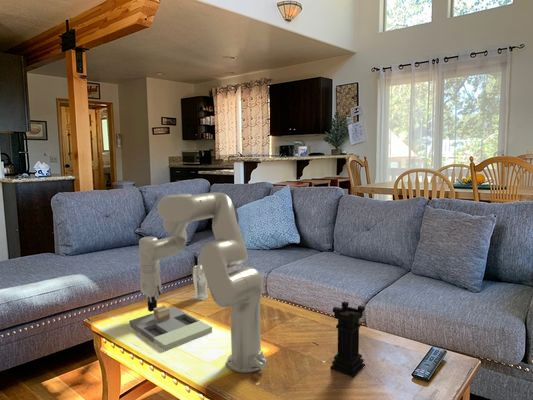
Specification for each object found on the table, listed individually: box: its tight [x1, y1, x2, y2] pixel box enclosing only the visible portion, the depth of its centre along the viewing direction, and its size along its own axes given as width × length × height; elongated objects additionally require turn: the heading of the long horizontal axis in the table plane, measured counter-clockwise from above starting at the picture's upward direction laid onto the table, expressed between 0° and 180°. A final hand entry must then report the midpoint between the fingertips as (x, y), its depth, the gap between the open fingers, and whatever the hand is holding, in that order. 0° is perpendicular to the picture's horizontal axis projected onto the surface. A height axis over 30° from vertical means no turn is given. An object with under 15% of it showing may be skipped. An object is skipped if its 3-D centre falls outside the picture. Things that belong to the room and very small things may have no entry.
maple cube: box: [153, 305, 170, 323], centre depth 162 cm, size 4×4×4 cm
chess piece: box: [330, 301, 366, 378], centre depth 128 cm, size 8×8×20 cm
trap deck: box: [128, 306, 213, 351], centre depth 158 cm, size 28×20×2 cm
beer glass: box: [192, 264, 209, 301], centre depth 189 cm, size 7×7×15 cm
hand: (152, 310), depth 168 cm, fingers closed
